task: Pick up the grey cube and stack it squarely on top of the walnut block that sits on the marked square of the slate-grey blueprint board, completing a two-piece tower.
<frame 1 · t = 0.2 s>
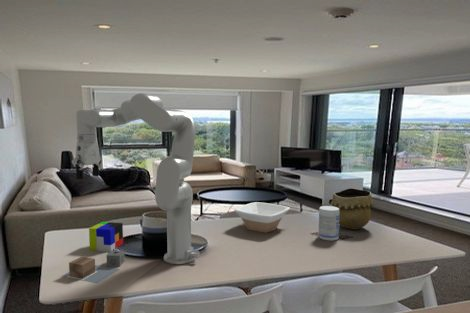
hand: (88, 177, 152), 31 cm above the table, fingers open, 9 cm apart
grey cube: (115, 266, 133), on the table
blueprint board: (91, 274, 125), on the table
puzzle toy: (107, 248, 152), on the table
walnut block: (82, 274, 124), point 1 cm above the table, touching blueprint board
bowl: (262, 228, 181), on the table
supplement tub: (328, 238, 166), on the table
clay pot: (351, 228, 181), on the table
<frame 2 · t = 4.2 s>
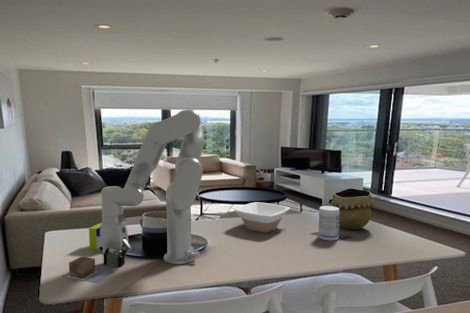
hand: (114, 264, 133), 1 cm above the table, fingers closed on grey cube, 5 cm apart
grey cube: (116, 265, 134), on the table, touching gripper
everything else where it was.
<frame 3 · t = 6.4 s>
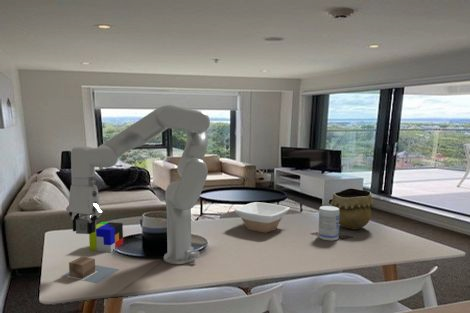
hand: (84, 231, 124), 16 cm above the table, fingers closed on grey cube, 5 cm apart
grey cube: (86, 232, 125), point 15 cm above the table, touching gripper
everything else where it was.
when the fingers open (7 cm above the table, at t = 8.8 s): grey cube drops 1 cm, resting on walnut block.
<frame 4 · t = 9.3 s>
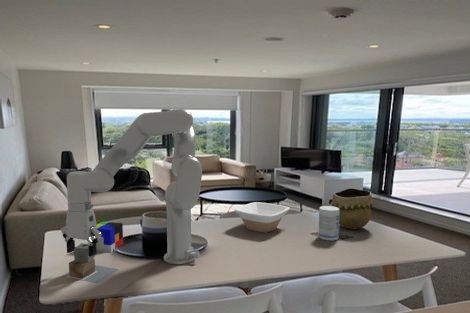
hand: (81, 253, 123), 8 cm above the table, fingers open, 9 cm apart
grey cube: (84, 259, 125), point 5 cm above the table, touching walnut block
walnut block: (82, 274, 124), point 1 cm above the table, touching blueprint board, grey cube
everything else where it was.
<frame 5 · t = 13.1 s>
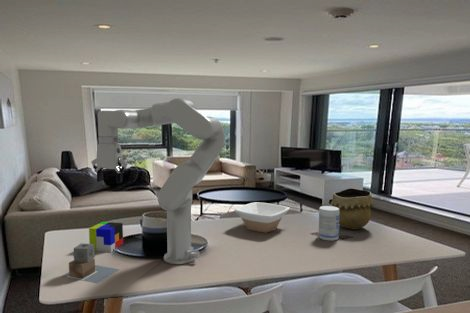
hand: (109, 181, 143), 30 cm above the table, fingers open, 9 cm apart
nothing on the table moved.
at the end: grey cube 1.2 cm off-centre on the walnut block, point 4.8 cm above the walnut block's base; grey cube touching walnut block; the gripper is holding nothing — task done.
